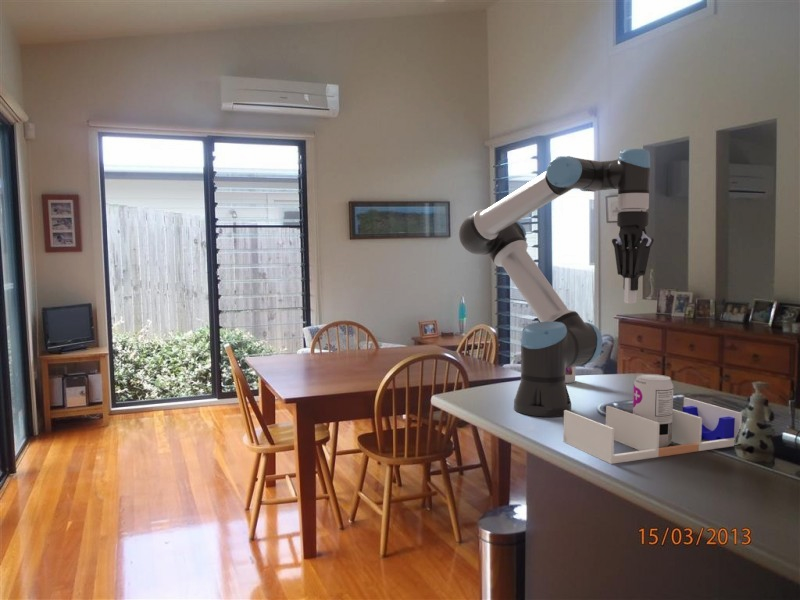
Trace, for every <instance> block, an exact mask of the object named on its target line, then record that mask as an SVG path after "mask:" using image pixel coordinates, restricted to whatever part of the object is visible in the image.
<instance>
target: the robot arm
mask: <svg viewBox="0 0 800 600" xmlns="http://www.w3.org/2000/svg"><path fill="white" fill-rule="evenodd" d="M650 177H651V154H650V151H649V150H647V149H646V148H645V149H644V148H627V149H623V150H621V151H619V154H618V159H613V160H604V161H603V160H601V161H600V160H599V161H598V160H593V159H592V160H591V159H584V158H578V157H574V156H570V155H568V156H565V155H564V156H557V157H554V158H553V159H552V160H550V162H549V164H548V165H547V167H546V170H545V171H544V172H543V173H541V174H539V175H538V176H536V177H534V178H533V179H531V180H530V181H528V182H527V183H525V184H523V185H522V186H520V187H519V188H518V189H516V190H514V191H513V192H511V193H510V194H507V196H505V197H503V198H502V199H500V200H498V201H497V202H495V203H493V204H492V205H490V206H489V207H487V208H485V209H483V208H481V209H478V210H476V211H474V212H473V213H471V214H470V215H468V216H467V217H466V218H465V219H464V220H463V221H462V223H461V225H460V227H459V232H458V233H459V234H458V236H459V242H460V244H461V245H462V246H463V248H464V249H465V251H467V252H468V253H471V254H473V255H481V256H482V255H486V256H487V255H488V256H489V257H490V259H491V261H492V262H493V263H494V265H495V266H497V267H500V268H501V267H502V268H503V269H504V271H505V273H507V275H508V277H509V278H510V280H511V281H512V283H513V284H514V285H515V287H516V288H517V290H518V291H519V293H520V294H521V295H522V297H523V298H524V300H525V301H526V303H527V305H528V306H529V308H530V309H531V310H532V312H533V314H534V315H535V316H536V317H537V320H538V321H539V322H533V323H529V324H527V325H526V326H524V327H523V328H522V331H521V339H520V344H521V345H520V351H521V353H520V356H521V357H520V382H519V384H518V385H519V386H518V389H517V390H516V394H515V397H514V400H513V410H514V411H516V412H517V413H519V414H523V415H528V416H533V417H543V418H544V417H549V418H551V417H552V418H553V417H564V410H567V411H570V412H572V402H571V398H570V395H569V391H568V387H567V383H565V368H568V367H574V366H575V367H579V366H582V367H583V366H585V365H587V364H590V363H592V362H595V361H596V360H597V359H598V358H599V356H600V355H601V352H602V350H603V344H604V343H603V342H604V341H603V336H602V333H601V331H600V329H599V328H598V327H597V326H596V325H595V324H593V323H590V322H584V320H583V318H582V317H581V315H580V314H579V313H578V312H577V311H576V310H570V309H569V308H568V307H567V306H566V304H565V303H564V302H563V300H562V298H561V297H560V296H559V294H558V293H557V292H556V290H555V289H554V287H553V286H552V284H551V283H550V282H549V281H548V278H546V276H545V275H544V273H543V272H542V270H541V269H540V268H539V266H538V265H537V263H536V262H535V261H534V259H533V258H532V256H531V255H530V254H529V252H528V251H527V249H528V243H527V241H528V240H527V237H526V236H527V232H526V228H525V227H524V225H523V224H522V223H521V222H520V220H521V219H523V218H525V217H527V216H528V215H530V214H533V212H535V211H537V210H539V209H540V208H542V207H544V206H546V205H548V204H549V203H551V202H553V201H554V200H556V199H557V198H559V197H561V196H563V195H565V194H566V193H568V192H569V191H572V190H573V189H579V190H580V191H582V192H592V193H593V192H594V193H595V192H598V191H607V190H608V191H610V190H617V210H618V211H619V212H618V213H617V214H616V218H617V219H616V220H617V221H616V222H617V223H616V224H617V225H616V226H617V227H619V232H618V236H617V237H616V238H612V239H611V243H612V246H613V248H614V255H615V256H614V257H615V263H616V269H617V270H616V271H617V275H619V276H621V277H622V278H623V286H622V288H623V290H624V294H623V303H624V304H637V302H638V301H637V299H638V298H637V296H638V295H637V294H638V293H637V291H638V289H639V278H641V277H642V276H645V275H646V271H647V266H648V262H649V261H648V260H649V256H650V253H651V247H652V246H653V243H654V241H655V240H654V238H653V237H649V236H647V230H646V227H648V226H649V219H650V218H649V212H648V209H650V204H649V203H650Z"/></svg>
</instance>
